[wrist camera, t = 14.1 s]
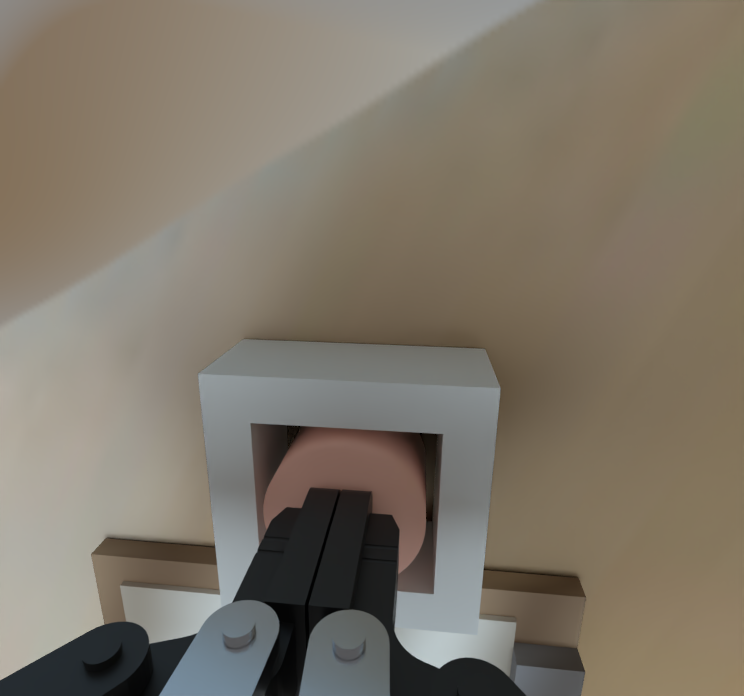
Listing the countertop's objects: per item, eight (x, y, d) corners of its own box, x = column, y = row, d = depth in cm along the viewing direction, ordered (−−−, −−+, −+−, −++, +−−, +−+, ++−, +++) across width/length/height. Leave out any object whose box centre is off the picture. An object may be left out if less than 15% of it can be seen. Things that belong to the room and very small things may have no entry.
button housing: (484, 348, 14) (500, 388, 11) (468, 555, 16) (477, 635, 13) (243, 338, 14) (197, 373, 11) (257, 538, 16) (222, 610, 14)
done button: (429, 400, 14) (429, 452, 11) (423, 519, 15) (422, 594, 12) (291, 393, 14) (258, 441, 11) (296, 509, 15) (267, 580, 13)
